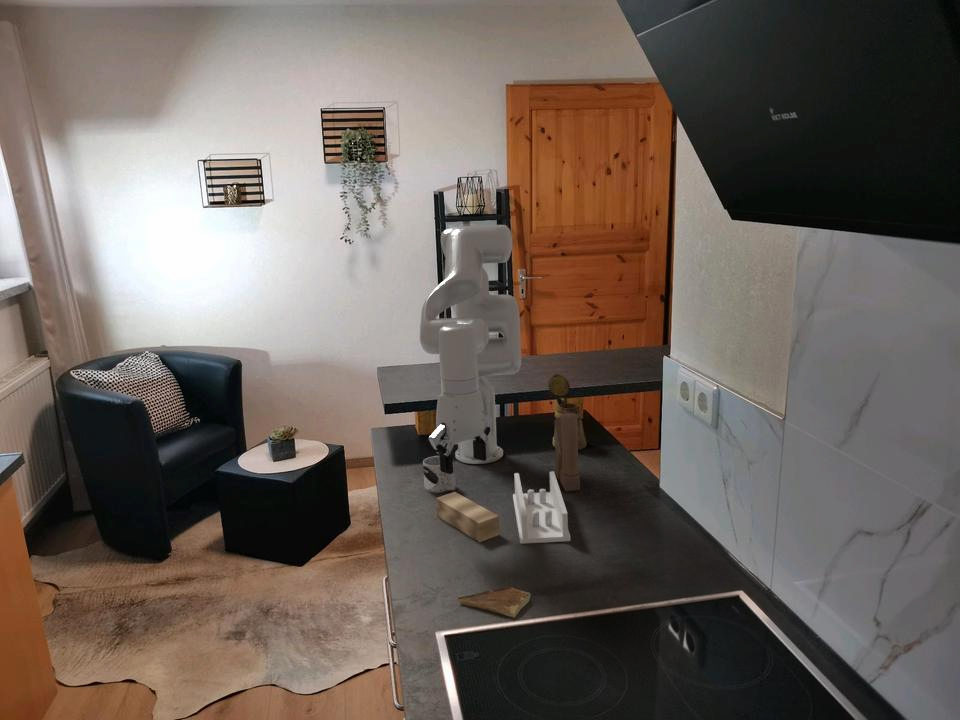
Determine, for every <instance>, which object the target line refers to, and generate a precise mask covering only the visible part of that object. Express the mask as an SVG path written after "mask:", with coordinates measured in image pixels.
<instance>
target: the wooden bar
mask: <svg viewBox="0 0 960 720" xmlns="http://www.w3.org/2000/svg"><path fill="white" fill-rule="evenodd" d="M435 508H436V516H437V517H438V518H439V519H441V520H443V521H444V522H445V523H448V524H450V525H451V526H452V527H455V528H456V529H457V530H458V531H460V532H462V533H464V534H465V535H467V536H468V537H471V538H472V539H474V540H475V541H477V542H478V543H482V542H484V541H487V540H489V539H492V538H495V537H497V536H500V520H499V519H500V517H499V515H498V514H496V513H494V512H492V511H490V510H489V509H487V508H485V507H483V506H481V505H480V504H478V503H476V502H474V501H472V500H470V499H469V498H467V497H465V496H463V495H461V494H460V493H458V492H456V491H453V492H450V493H447V494H444V495H441V496H438V497H436V498H435Z"/></svg>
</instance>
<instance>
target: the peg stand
mask: <svg viewBox="0 0 960 720" xmlns="http://www.w3.org/2000/svg"><path fill="white" fill-rule="evenodd" d="M513 475H514V478H513V479H514V493H513V494H512V500H513V501H512V502H513V505H514V512H515V513H514V514H515V519H516V526H517V530H518V538H519V544H537V543H538V544H539V543H556V542H571V534H570V531H569V526H568V525H569V524H568V523H569V522H568V519H569V517H568V516H569V515H568V511H567V507H566V504H565V502H564V499H563V495H562V492H561V489H560V485H559V483H558V480H557V479H558V478H557V475H556V472H555V471H554V470H553V471H552V470H551V471H549V491H547V489H546V488H540V489H539V492H535V490H534V489H531V488H530V489H528V490H527V493H523V487H522V483H521V478H520V473H519V472H515V473H514V474H513Z"/></svg>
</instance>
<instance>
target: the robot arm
mask: <svg viewBox="0 0 960 720" xmlns="http://www.w3.org/2000/svg"><path fill="white" fill-rule="evenodd" d="M440 244H441V245H440V246H441V250H442V252H443V255H444V257H445V262H444V279H443V281H441V282H440V283H438V285H437V286H436V287H435V288H433V290H431V292H430V293H429V294H428V296H427V297H426V298H425V301H424V302H423V305H422V308H421V317H420V325H419V341H420V342H419V343H420V345H421V348H422V349H423V351H424V352H426V353H427V354H429V355H439V369H440V387H441V393H440V394H438V397H437V404H436V415H435V419H436V421H435V424H436V425H435V430H434V431H433V432H432V433H431V435H429V437H428V441H429V442H430V445H431V446H432V447H431V448H432V449H433V450H434V451H435V452H436V454H438V456H440V470H441V472H444V473H447V474H453V472H454V460H453V454H451V452H452V450H453V448H454V445H457V449H456V450H455V453H454V455H455V459H456V460H458V461H459V462H461V463H464V464H471V465H482V464H483V465H484V464H490V463H493V462H496V461H498V460H500V459H501V458H502V457H503V456H504V450H503V448H501V446H498V444H497V442H498V441H497V440H498V439H497V421H496V419H497V418H496V401H495V400H496V396H495V395H496V393H495V390H494V389H495V388H494V387H493V385H492V384H491V383H490V382H489V380H488V379H487V378H486V376H498V375H499V376H506V375H514V374H515V375H516V373H518V372H519V370H520V369H521V366H522V345H521V343H522V341H521V320H520V317H521V316H520V309H519V304H518V302H517V299H516V298H515V297H514V296H512V295H510V294H490V289H489V288H490V283H489V275H488V273H487V270H485V268H484V265H483V264H502V263H503V264H504V263H506V262H509V259H510V257H511V253H512V251H513V236H512V231H511V229H510V228H509V227H508V226H507V225H506V224H489V225H486V224H484V225H460V226H453V227H449V228H446V229H444V230H443V231H442V232H441V235H440ZM452 306H455V309H456V314H455V315H456V317H446V318H445V317H441V318H437V317H438V316H439V315H440V314H441V313H443V312H444V311H445V310H447V309H449V308H451V307H452ZM490 333H499V334H501V335H502V337H490ZM445 446H446V447H445Z"/></svg>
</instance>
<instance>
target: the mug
mask: <svg viewBox="0 0 960 720" xmlns="http://www.w3.org/2000/svg"><path fill="white" fill-rule="evenodd" d="M422 465H423V466H422V468H423V483H424V486H423V487H424V490H425V491H426V492H428V493H433V494H438V493H439V494H440V493H444V492H445V493H446V492H448V491H455V490H456V486H457V485H456V484H457V482H456V474H455V472H454V471H453V474H447V473H444V472H441V470H440V456H439V455H434V456H428V457H427V458H424V459H423V460H422Z"/></svg>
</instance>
